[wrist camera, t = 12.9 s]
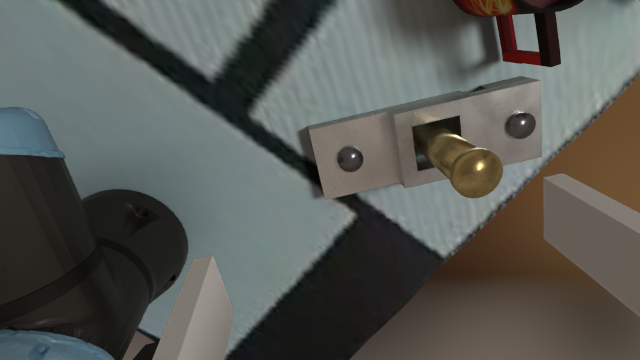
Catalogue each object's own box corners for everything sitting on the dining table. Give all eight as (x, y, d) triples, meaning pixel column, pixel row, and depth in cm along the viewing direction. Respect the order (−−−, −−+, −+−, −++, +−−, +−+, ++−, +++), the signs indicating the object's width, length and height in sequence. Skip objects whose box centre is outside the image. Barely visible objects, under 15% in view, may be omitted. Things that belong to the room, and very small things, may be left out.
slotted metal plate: (323, 193, 50) (327, 209, 46) (307, 126, 47) (309, 136, 42) (522, 147, 50) (544, 158, 46) (520, 76, 47) (544, 80, 42)
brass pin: (410, 157, 49) (455, 203, 36) (405, 122, 47) (450, 156, 34) (445, 149, 49) (503, 191, 36) (442, 113, 47) (501, 144, 34)
